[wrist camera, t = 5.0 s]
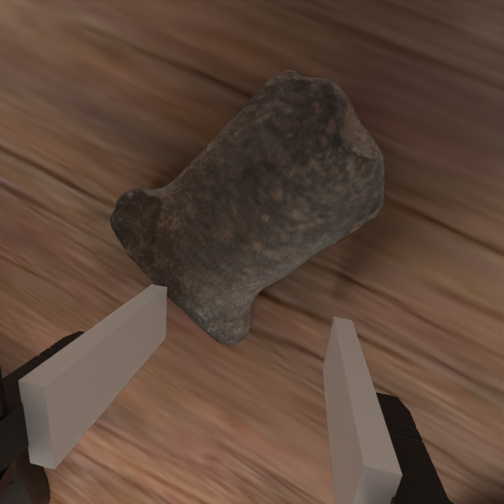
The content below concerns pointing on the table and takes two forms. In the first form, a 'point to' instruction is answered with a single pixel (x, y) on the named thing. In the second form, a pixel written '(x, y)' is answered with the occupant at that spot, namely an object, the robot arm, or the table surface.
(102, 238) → the table surface
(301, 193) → the stone
